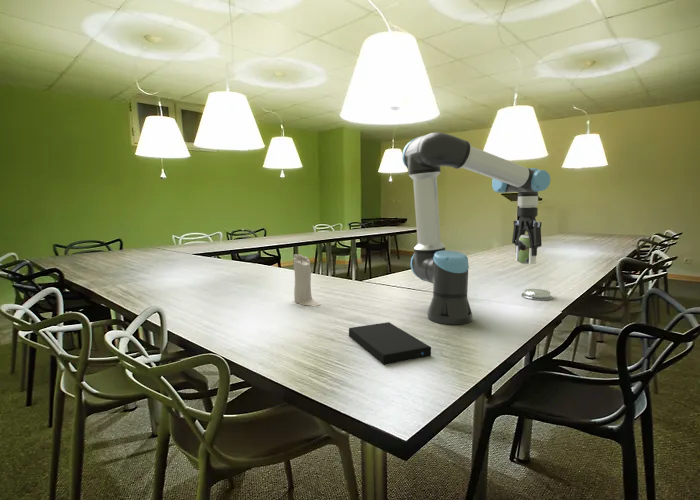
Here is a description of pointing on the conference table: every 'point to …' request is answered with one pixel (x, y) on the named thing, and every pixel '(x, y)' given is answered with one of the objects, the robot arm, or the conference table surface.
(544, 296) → the bowl
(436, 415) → the conference table surface
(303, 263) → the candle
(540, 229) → the robot arm
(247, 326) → the conference table surface
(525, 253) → the beverage can
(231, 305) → the conference table surface
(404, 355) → the external hard drive
